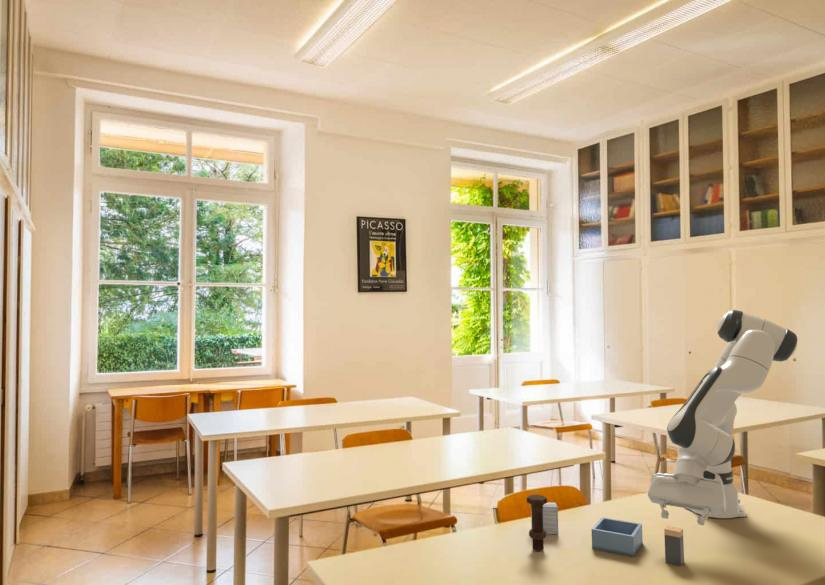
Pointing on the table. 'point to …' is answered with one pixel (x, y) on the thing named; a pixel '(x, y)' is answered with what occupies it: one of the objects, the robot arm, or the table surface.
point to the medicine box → (549, 518)
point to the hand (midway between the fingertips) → (682, 520)
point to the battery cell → (674, 545)
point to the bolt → (537, 521)
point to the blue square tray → (617, 536)
